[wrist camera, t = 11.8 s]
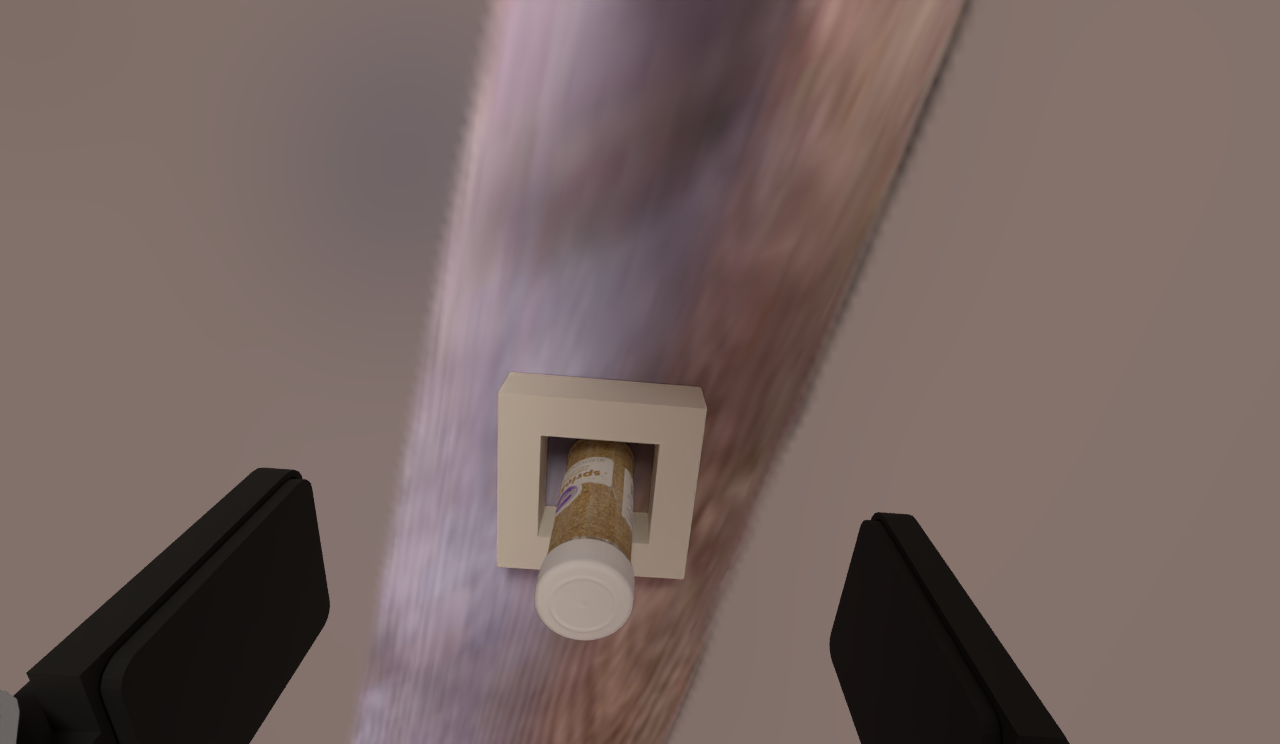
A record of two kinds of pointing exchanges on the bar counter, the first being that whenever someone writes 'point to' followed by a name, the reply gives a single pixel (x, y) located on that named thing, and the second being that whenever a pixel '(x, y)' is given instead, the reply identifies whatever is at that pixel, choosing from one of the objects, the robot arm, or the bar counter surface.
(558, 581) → the sprinkles bottle
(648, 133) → the bar counter surface
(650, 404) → the collar
